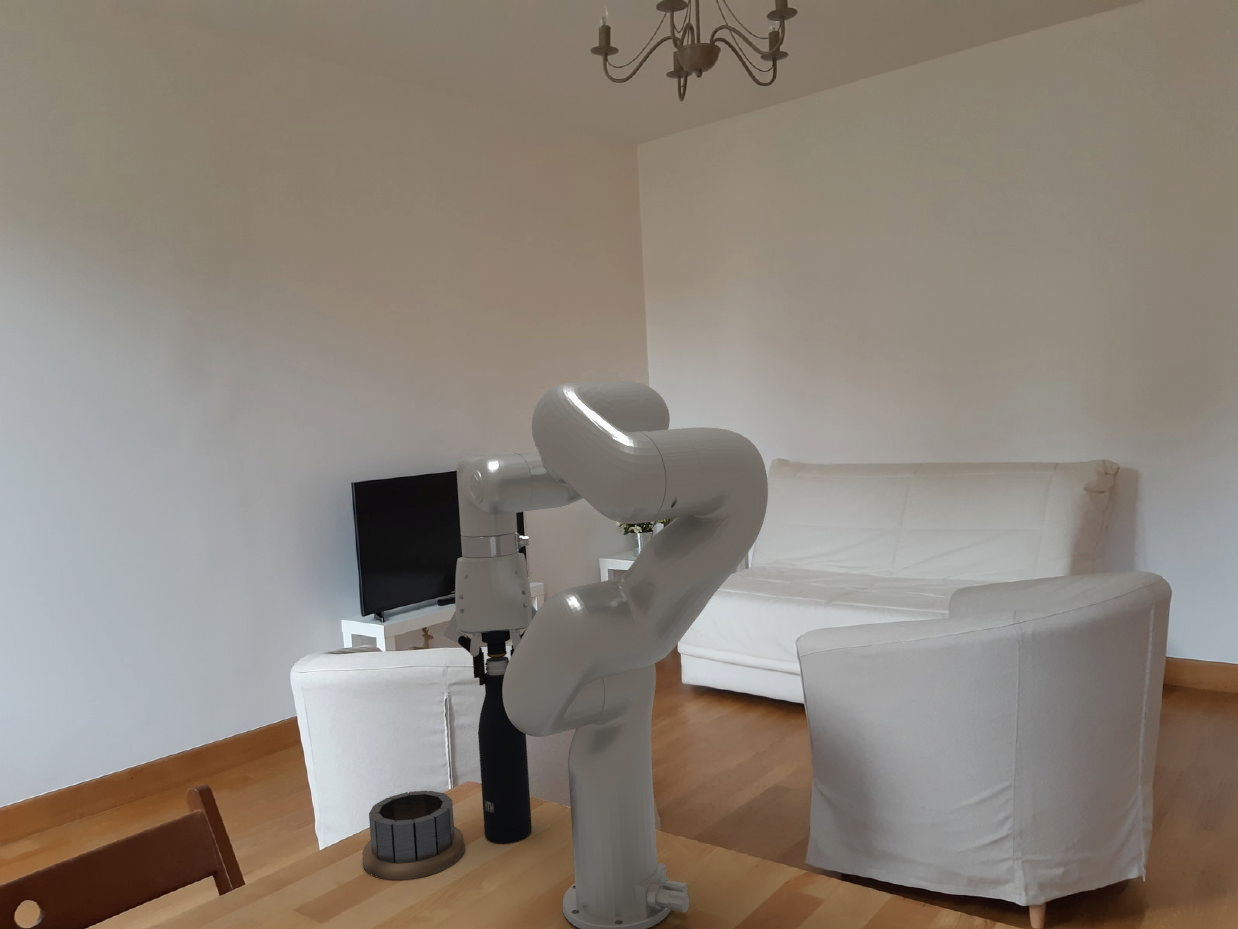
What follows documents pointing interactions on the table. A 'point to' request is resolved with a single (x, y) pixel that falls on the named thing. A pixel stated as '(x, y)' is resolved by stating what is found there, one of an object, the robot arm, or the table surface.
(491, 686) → the black tall rounded piece
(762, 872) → the table surface
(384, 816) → the bottle stand
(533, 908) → the table surface
